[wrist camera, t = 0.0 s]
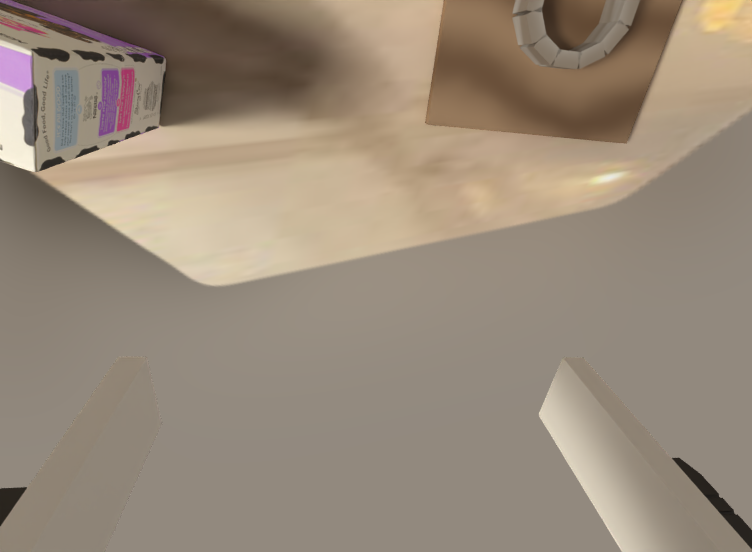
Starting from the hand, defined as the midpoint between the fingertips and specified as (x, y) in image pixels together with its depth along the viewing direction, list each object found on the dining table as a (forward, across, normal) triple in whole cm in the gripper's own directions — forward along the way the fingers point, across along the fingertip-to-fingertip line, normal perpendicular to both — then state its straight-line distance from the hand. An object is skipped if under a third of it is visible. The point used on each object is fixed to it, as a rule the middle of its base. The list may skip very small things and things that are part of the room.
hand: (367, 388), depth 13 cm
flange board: (+28, +18, +15) cm, 36 cm away
